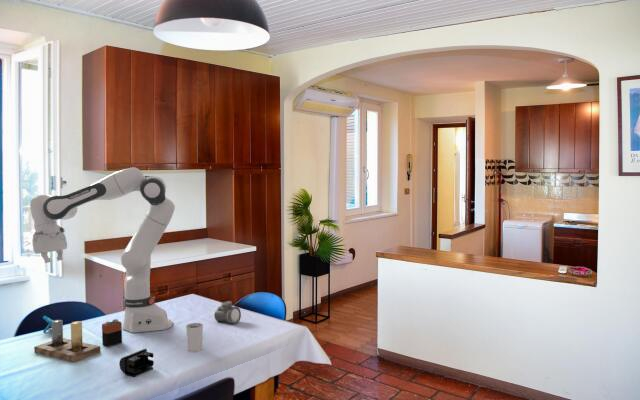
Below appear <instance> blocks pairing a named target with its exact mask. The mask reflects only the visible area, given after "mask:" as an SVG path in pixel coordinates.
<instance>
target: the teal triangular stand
mask: <svg viewBox="0 0 640 400" xmlns="http://www.w3.org/2000/svg"><path fill="white" fill-rule="evenodd" d="M42 319H43V320H45V322H46V323H48V324H47V326H46V327H45V328H44V329H43V331H42V332H43V333H46V332H47V331H48V330H49V329H50V328H52V321H54V319H51V318H50V317H48V316H46V315H43V316H42Z"/></svg>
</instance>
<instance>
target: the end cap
mask: <svg viewBox="0 0 640 400" xmlns="http://www.w3.org/2000/svg"><path fill="white" fill-rule="evenodd" d="M154 356H155V355H154V352H151V351H148V350H147V348H143V349H140V350H138V351H135V352H133V353H131V354H128V355H125V356H122V357H121V358H120V359H119V364H118V365H119V369H120V371H121V373H123V374H124V375H126V376H128V377H131V378H135V377H138V376H140V375H143V374H145V373H147V372H150V371H151V370H153V369H154V367H153V366H154V362H155V361H154V360H153V359H149V358H154Z"/></svg>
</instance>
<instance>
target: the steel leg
mask: <svg viewBox="0 0 640 400" xmlns="http://www.w3.org/2000/svg"><path fill="white" fill-rule="evenodd" d="M63 322H64V321H63V319H55V320H53V321H52V326H51V341H52V347H55V348H56V347H59V346H62V345H63V338H64V324H63Z"/></svg>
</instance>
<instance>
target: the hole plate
mask: <svg viewBox="0 0 640 400" xmlns="http://www.w3.org/2000/svg"><path fill="white" fill-rule="evenodd" d="M33 348H34V349H33V350H34V353H35V354H38V355H42V356H46V357H52V358H55V359H59V360H63V361H66V362H71V363H77V362H79V361H82V360H83V359H84V360H85V359H87V358H89V357H92V356H94V355H97V354H99V353H101V346H100V345H96V344H92V343H87V342H83V350H81V351H78V352H72V346H71V339H69V338H65V337H63V345H62V346H59V347H56V348H55V347H52V340H50V341H47V342H45V343H41V344H38V345H36V346H33Z"/></svg>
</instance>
